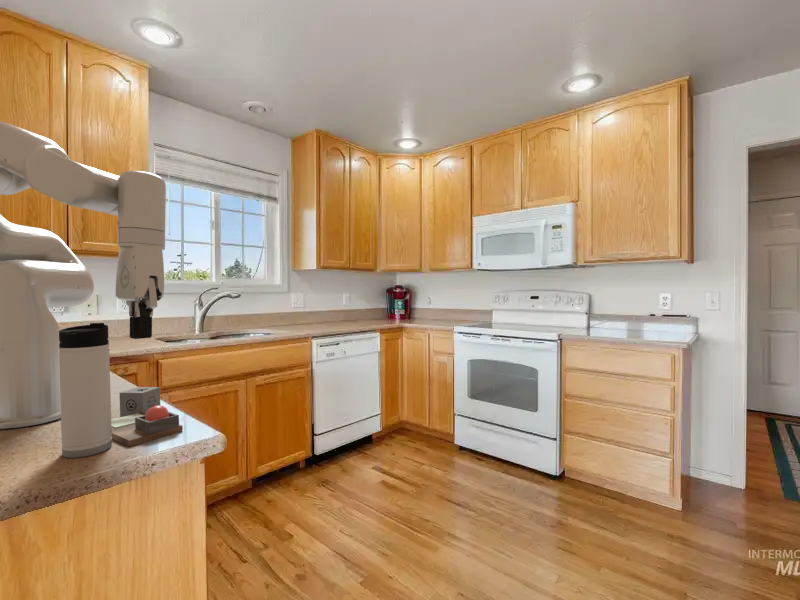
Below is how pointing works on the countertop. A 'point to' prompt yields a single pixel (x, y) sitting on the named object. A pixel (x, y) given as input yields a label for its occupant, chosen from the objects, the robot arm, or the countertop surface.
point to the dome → (156, 413)
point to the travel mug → (85, 390)
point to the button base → (143, 428)
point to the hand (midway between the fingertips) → (140, 337)
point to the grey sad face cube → (138, 400)
